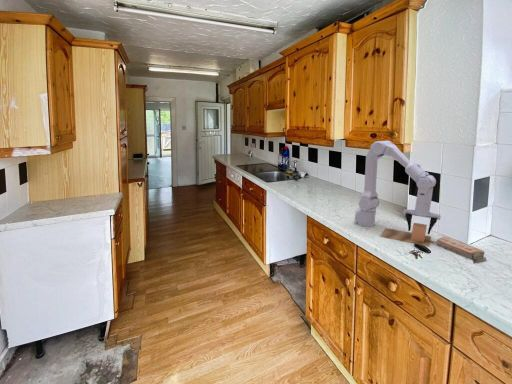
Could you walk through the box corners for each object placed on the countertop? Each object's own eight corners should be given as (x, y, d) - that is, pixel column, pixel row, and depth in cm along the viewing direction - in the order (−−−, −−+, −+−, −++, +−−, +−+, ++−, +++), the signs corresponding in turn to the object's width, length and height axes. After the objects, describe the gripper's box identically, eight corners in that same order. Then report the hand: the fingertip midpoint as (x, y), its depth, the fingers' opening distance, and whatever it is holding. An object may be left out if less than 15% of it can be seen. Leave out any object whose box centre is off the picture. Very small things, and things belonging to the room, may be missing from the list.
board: (379, 239, 140) (379, 236, 140) (385, 230, 151) (385, 227, 151) (429, 249, 130) (429, 246, 129) (430, 239, 141) (431, 236, 141)
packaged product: (489, 250, 119) (471, 253, 116) (487, 261, 120) (469, 265, 117) (447, 234, 136) (430, 236, 132) (445, 244, 137) (429, 246, 133)
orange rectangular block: (410, 239, 137) (412, 225, 135) (412, 236, 141) (414, 222, 140) (423, 242, 134) (426, 227, 133) (424, 238, 138) (426, 224, 137)
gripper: (404, 202, 134) (400, 231, 137) (442, 207, 127) (437, 238, 130) (406, 198, 140) (402, 226, 143) (442, 203, 132) (437, 233, 136)
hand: (418, 231), depth 137 cm, fingers open, 7 cm apart
